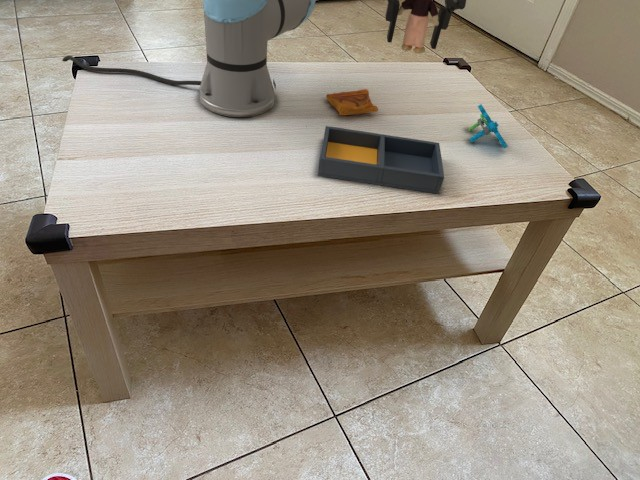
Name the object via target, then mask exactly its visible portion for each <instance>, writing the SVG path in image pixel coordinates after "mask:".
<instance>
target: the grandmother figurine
mask: <svg viewBox="0 0 640 480" xmlns="http://www.w3.org/2000/svg"><path fill="white" fill-rule="evenodd" d="M406 10H410V13H409V14H408V17H407V20H406V25H405V27H404V28H405V29H404V34H403V40H402V44H401V50H403V51H406V52H409V51H411V50H412V49H413V50H412V52H413V53H415V54H419V55H421V54H423V53H426V48H425V40H426V35H427V30H428V25H429V14H430V16H431V18H432V26H433V27H435V26H438V25H439V21H438V12H439V10H438V7H437V5H436V3H435V1H433V0H403V1H401V3H400V7H399V11H398V16H402V15H403V13H404V12H405V11H406ZM413 47H414V48H413Z"/></svg>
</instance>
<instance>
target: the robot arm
mask: <svg viewBox="0 0 640 480" xmlns="http://www.w3.org/2000/svg"><path fill="white" fill-rule="evenodd" d="M466 3H467V0H444V5H445V6H439V9H438V21H439V25H438V26H433V31H432V34H431V37H430V41H429V44H430V48H431V49H432V50H436V49H437V47H438V42H439V38H440V35H441V32H442V30H444V31H446V30H447V29H448V27H449V24H450V22H451V18H452V14H453V13H454V12H455V11H456V10H464V9H465V8H466V5H467V4H466ZM315 5H316V0H202V9H203V17H204V33H205V35H204V36H205V49H206V50H205V51H206V64H205V68H204V72H203V74H202V78H201V80H173V79H168V78H164V77H161V76H158V75H155V74H153V73H150V72H146V71H143V70H139V69H131V68H120V67H119V68H117V67H99V66H93V65H92V66H90V65H87V64H85V63H82V61H80V60H78V59H77V58H76V57H74V56H72V55H66V56H64V57H63V58H62V60H61V61H62V62H68V61H71V62H73V63H74V64H75V65H77V66H78V67H80V68H81V69H84V70H86V71H91V72H99V73H120V74H121V73H122V74H123V73H124V74H132V75H133V74H134V75H137V76H142V77H145V78H149V79H151V80H155V81H158V82H161V83H164V84H168V85H173V86H174V85H175V86H199V92H198V93H199V102H200V103H201V105H202V106H203V107H204V108H206V110H208V111H210V112H212V113H215V114H217V115H221V116H224V117H231V118H250V117H256V116H259V115H262V114H264V113H266V112H268V111H269V110H270V109H271V108H273V106H274V104H275V90H276V89H277V84H276V81H275V78H271V75H270V72H269V68H268V42H269V41H270V40H273V39H275V38H277V37H279V36H280V35H283V34H285V33H286V32H289V31H294V30H296V29H297V28H298V27H300V26H301V25H302V24H303V23H305V22H307V20H308V19H309V18H310V16H311V15H312V13H313V10H314V9H315ZM400 6H401V3H400V0H387V6H386V10H385V17H384V18H385V21H386V22H389V24H388V25H389V26H388V30H387V35H386V40H387V41H386V42H387V43H393V37H394V34H395V33H394V32H395V29H396V25H397V20H398V16H399V15H398V11H399V8H400Z"/></svg>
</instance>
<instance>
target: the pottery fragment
mask: <svg viewBox="0 0 640 480" xmlns="http://www.w3.org/2000/svg"><path fill="white" fill-rule="evenodd" d="M326 100H327V101H328V103H329V104H330V105H331V106H332V107H333V108H334V109H335V110H336V111H337V112H338V116H352V115H362V114H368V113H373V112H374V113H375V112H378V111H379V107H378V106H377V105H374V104H373V103H372V100H371V98H370V93H369V89H367V88H364V89H359V90H350V91H342V92H333V93H327V94H326Z"/></svg>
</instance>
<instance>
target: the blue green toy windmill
mask: <svg viewBox="0 0 640 480" xmlns="http://www.w3.org/2000/svg"><path fill="white" fill-rule="evenodd" d="M477 108H478V110H479V112H480V114H479V116H480V117H479V118H478V119H477V122H476V123H474V124H473V125H471V126H469V127H468V130H469V132H471V131H473V130H475V129H476V128H478V127H479V126H480V128H481V129H482V130H480V131H478V132H477V133H475V134H474V135H472V136H471V137H469V138H468V139H469V141H470V142H471V143H474V142H475V141H477V140H478V139H480V138H482V137H483V136H485V135H486V136H488V135H489V134H491V133H493V134H494V135H495V137H496V139H497V140H498V142H499V143H500V145H501V146H502V148H503V149H504V150H505V149H507V148H508V144H507V143H506V141H505V139H504V138H503V136H502V135H501V133H500V131H499V128H498V127H499V126H500V125H499V124H498V122H497V121H494V120H492V118H491V116H490V115H489V114H488V112H487V111H486V109H485V107H484V106H483V105H482V104H479V105H478V106H477Z"/></svg>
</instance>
